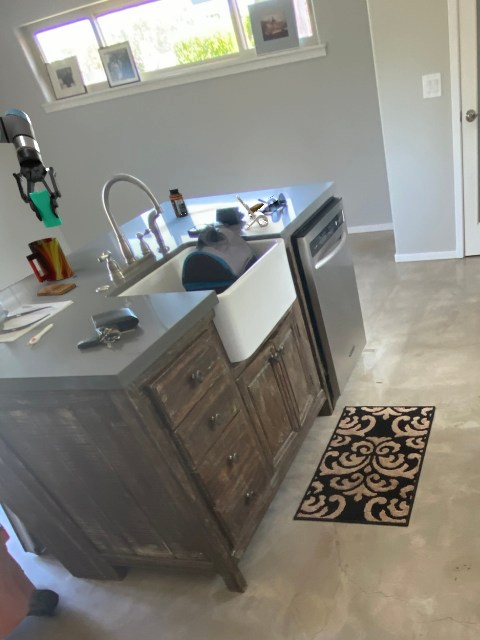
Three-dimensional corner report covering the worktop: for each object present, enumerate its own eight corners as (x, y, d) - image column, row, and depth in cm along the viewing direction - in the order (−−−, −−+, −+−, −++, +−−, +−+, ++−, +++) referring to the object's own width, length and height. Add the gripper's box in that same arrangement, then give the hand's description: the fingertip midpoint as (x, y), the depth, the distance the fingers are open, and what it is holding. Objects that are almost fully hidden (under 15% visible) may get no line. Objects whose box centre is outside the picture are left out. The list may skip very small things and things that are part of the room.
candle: (66, 222, 187) (48, 183, 179) (56, 226, 183) (37, 187, 175) (51, 223, 188) (33, 185, 180) (41, 228, 184) (22, 189, 176)
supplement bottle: (174, 216, 250) (165, 189, 243) (186, 213, 252) (177, 186, 245) (178, 218, 246) (168, 190, 239) (190, 215, 248) (181, 187, 241)
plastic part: (269, 225, 213) (261, 193, 206) (245, 230, 211) (237, 198, 204) (265, 221, 219) (258, 190, 211) (242, 226, 217) (234, 194, 209)
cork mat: (37, 296, 176) (35, 293, 175) (52, 287, 182) (51, 284, 181) (61, 294, 174) (60, 291, 173) (76, 286, 180) (75, 283, 179)
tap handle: (278, 193, 246) (252, 209, 225) (280, 201, 248) (254, 217, 227) (272, 194, 247) (246, 210, 226) (274, 201, 249) (248, 218, 228)
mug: (41, 286, 184) (21, 250, 176) (49, 275, 194) (31, 240, 186) (69, 281, 186) (51, 244, 178) (75, 270, 196) (58, 235, 188)
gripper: (60, 159, 187) (79, 219, 186) (8, 168, 183) (26, 229, 183) (50, 143, 179) (69, 205, 178) (-5, 152, 176) (14, 215, 175)
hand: (47, 217), depth 180 cm, fingers closed on candle, 5 cm apart
